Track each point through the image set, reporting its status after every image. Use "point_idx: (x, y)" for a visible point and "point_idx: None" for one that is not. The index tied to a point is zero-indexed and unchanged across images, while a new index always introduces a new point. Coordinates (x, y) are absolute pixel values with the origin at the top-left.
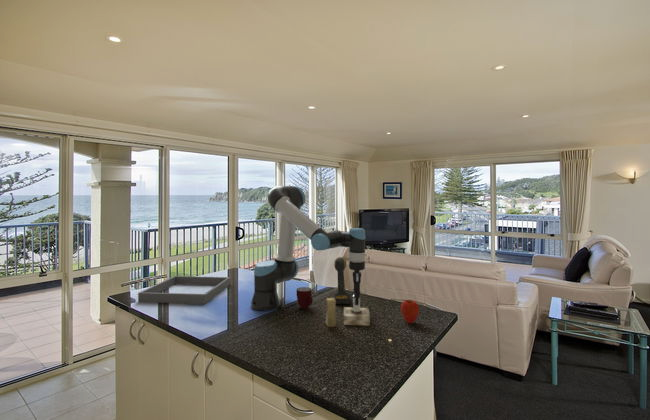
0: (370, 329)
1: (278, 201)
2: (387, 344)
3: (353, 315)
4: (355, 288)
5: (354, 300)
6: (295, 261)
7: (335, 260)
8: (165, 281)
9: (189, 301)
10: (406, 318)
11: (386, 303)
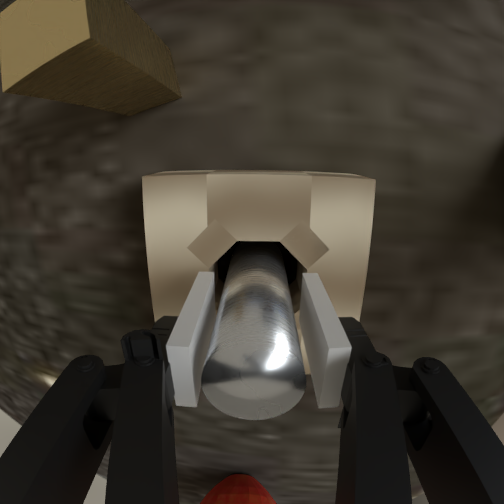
0: (123, 332)
1: None
2: (18, 363)
3: (167, 260)
4: (12, 458)
5: (174, 332)
6: None
7: None
8: None
9: None
10: (214, 488)
11: (477, 407)
